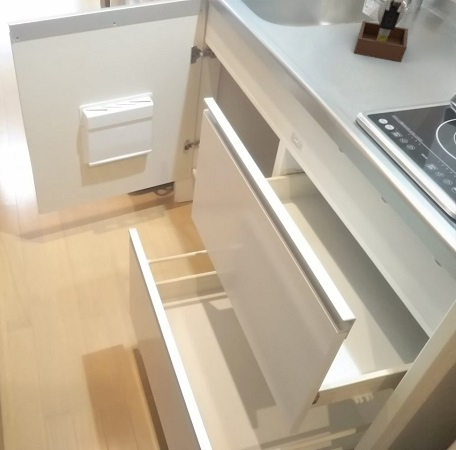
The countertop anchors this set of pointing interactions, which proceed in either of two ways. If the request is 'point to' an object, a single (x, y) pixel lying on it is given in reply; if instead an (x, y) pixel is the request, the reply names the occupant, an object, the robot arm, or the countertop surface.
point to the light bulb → (383, 32)
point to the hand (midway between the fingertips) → (387, 23)
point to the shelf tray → (378, 49)
